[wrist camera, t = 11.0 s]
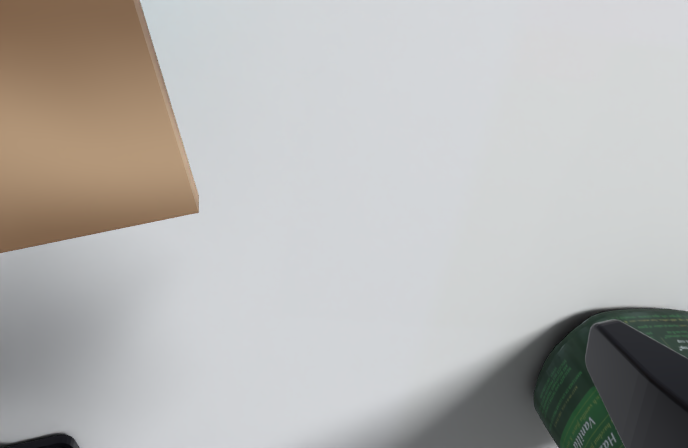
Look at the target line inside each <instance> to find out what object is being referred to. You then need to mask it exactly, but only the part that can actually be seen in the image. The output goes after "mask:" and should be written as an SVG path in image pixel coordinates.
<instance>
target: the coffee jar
mask: <svg viewBox="0 0 688 448" xmlns="http://www.w3.org/2000/svg"><path fill="white" fill-rule="evenodd" d="M611 319H616V320H620V321H622V322H624V323H626V324H627V325H629V326H631V327H633V328H635V329H636V330H638V331H640V332H642V333H644V334H645V335H647V336H649V337H651V338H652V339H654V340H656V341H658V342H660V343H661V344H663V345H665V346H667V347H669V348H670V349H672V350H674V351H676V352H678V353H679V354H681V355H683V356H685V357H687V358H688V312H687V311H679V310H671V309H625V310H614V311H607V312H602V313H599V314H596V315H594V316H591V317H590V318H588V319H587V320H585V321H584V322H583V323H582V324H580V325H579V326H578V327H576V328H575V329H574V330H572V331H571V332H570V333H569V334H568V335H567V336H566V337H565V338H564V339H563V340H562V341H561V342H560V343H559V344H557V345H556V346H555V348H554V349H553V351H552V352H551V353H550V355H549V356H548V358H547V359H546V361H545V363H544V365H543V368H542V370H541V371H540V374H539V376H538V380H537V383H536V387H535V391H534V406H535V409H536V411H537V413H538V414H539V416H540V418H541V420H542V422H543V423H544V425H545V427H546V428H547V430H548V431H549V433H550V434H551V436H552V438H553V439H554V441H555V442H556V444H557V446H558V447H559V448H625V446H624V444H623V442H622V440H621V438H620V436H619V434H618V432H617V430H616V428H615V426H614V424H613V422H612V420H611V418H610V416H609V413H608V411H607V409H606V407H605V405H604V403H603V401H602V399H601V397H600V395H599V393H598V391H597V389H596V387H595V385H594V382H593V380H592V378H591V376H590V374H589V372H588V370H587V367H586V362H585V355H586V349H587V343H588V337H589V332H590V328H591V326H592V325H593V324H595V323H598V322H603V321H607V320H611Z"/></svg>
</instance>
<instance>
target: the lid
mask: <svg viewBox="0 0 688 448" xmlns="http://www.w3.org/2000/svg"><path fill="white" fill-rule="evenodd" d="M194 213H199V195H198V192H197V189H196V185H195V182H194V179H193V175H192V172H191V169H190V165H189V162H188V159H187V155H186V152H185V149H184V146H183V142H182V139H181V136H180V132H179V129H178V126H177V122H176V119H175V116H174V112H173V109H172V106H171V103H170V99H169V96H168V93H167V89H166V86H165V83H164V79H163V76H162V73H161V69H160V66H159V63H158V60H157V56H156V53H155V50H154V46H153V43H152V40H151V36H150V33H149V30H148V26H147V23H146V20H145V17H144V13H143V10H142V7H141V3H140V0H0V253H3V252H8V251H13V250H18V249H23V248H28V247H32V246H37V245H42V244H47V243H52V242H57V241H62V240H67V239H72V238H76V237H81V236H86V235H91V234H96V233H101V232H106V231H111V230H116V229H120V228H125V227H130V226H135V225H140V224H145V223H150V222H155V221H160V220H164V219H169V218H174V217H179V216H184V215H189V214H194Z"/></svg>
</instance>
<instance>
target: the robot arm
mask: <svg viewBox="0 0 688 448" xmlns="http://www.w3.org/2000/svg"><path fill="white" fill-rule="evenodd" d="M585 362H586V367H587V370H588V372H589V374H590V376H591V378H592V380H593V382H594V385H595V387H596V389H597V391H598V393H599V395H600V397H601V399H602V401H603V403H604V405H605V407H606V409H607V411H608V413H609V416H610V418H611V420H612V422H613V424H614V426H615V428H616V430H617V432H618V434H619V436H620V438H621V440H622V442H623V444H624V446H625V448H688V358H687V357H685V356H683V355H681V354H679V353H678V352H676V351H674V350H672V349H670V348H669V347H667V346H665V345H663V344H661V343H660V342H658V341H656V340H654V339H652V338H651V337H649V336H647V335H645V334H644V333H642V332H640V331H638V330H636V329H635V328H633V327H631V326H629V325H627V324H626V323H624V322H622V321H620V320H616V319H611V320H607V321H603V322H598V323H595V324H593V325H592V326H591V328H590V332H589V337H588V343H587V349H586V355H585ZM6 448H79V446H78V445H77V443H76V441H75V440H74V439H73V438H72V437H70V436H68V435H57V436H53V437H48V438H44V439H40V440H36V441H31V442H27V443H23V444H18V445H14V446H10V447H6Z"/></svg>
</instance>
